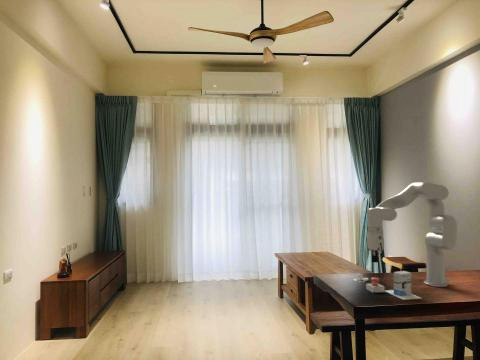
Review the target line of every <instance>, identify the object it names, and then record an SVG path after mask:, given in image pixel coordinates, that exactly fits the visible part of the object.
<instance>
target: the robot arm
mask: <svg viewBox="0 0 480 360" xmlns="http://www.w3.org/2000/svg"><path fill="white" fill-rule="evenodd" d="M449 193H450V192H449V190H448V188H447V186H445V185H442V184H437V183H433V182H428V181H423V182H422V181H416V182H411V183H409V184H408V185H407V186H406V187H405V188H404V189H402V190H401V191H400V192H399V193H398V194H395V195H393V196H392V197H389V198H387V199H385V200H383V201H380V203H379V204H378V205H376V206H375V207H369V208H368V210H367V239H366V246H367V249H368V250H369V251H370V255H371V263H379V255H380V254H382V252H383V251H384V250H385V241H384V233H383V221H387V222H391V221H394V220H395V219H397V216H398V212H397V211H396V209H401V208H402V209H403V208H405V207H408V206H410V205H411V203H413V202H414V201H415V200H417V198H419V197H421V199H423V200H424V201H425V202H426V204H427V207H428V208H427V209H428V212H427V213H428V215H427V225H428V227H429V228H430V229H432V230H435V231H429V232H426V234H425V235H424V244H425V250H426V279H425V280H424V281H423V283H424V285H426V286H429V287H430V286H431V287H437V288H445V287H448V282H451V281H452V278H451V277H446V276H445V253H444V250H446V251H452V250H453V249H455V247H456V246H457V245H456V244H457V232H458V231H457V230H458V224H457V220H456V218H455V217H454V216H452V215H449V214H445V205H444V203H443V200H446V199H447V198H448V196H449ZM440 231H442V232H440Z"/></svg>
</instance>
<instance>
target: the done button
mask: <svg viewBox="0 0 480 360" xmlns="http://www.w3.org/2000/svg"><path fill="white" fill-rule="evenodd" d="M370 280H371V284H372V286H378V284H379V281H380V278H379V277H373V276H372V277H370Z"/></svg>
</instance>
